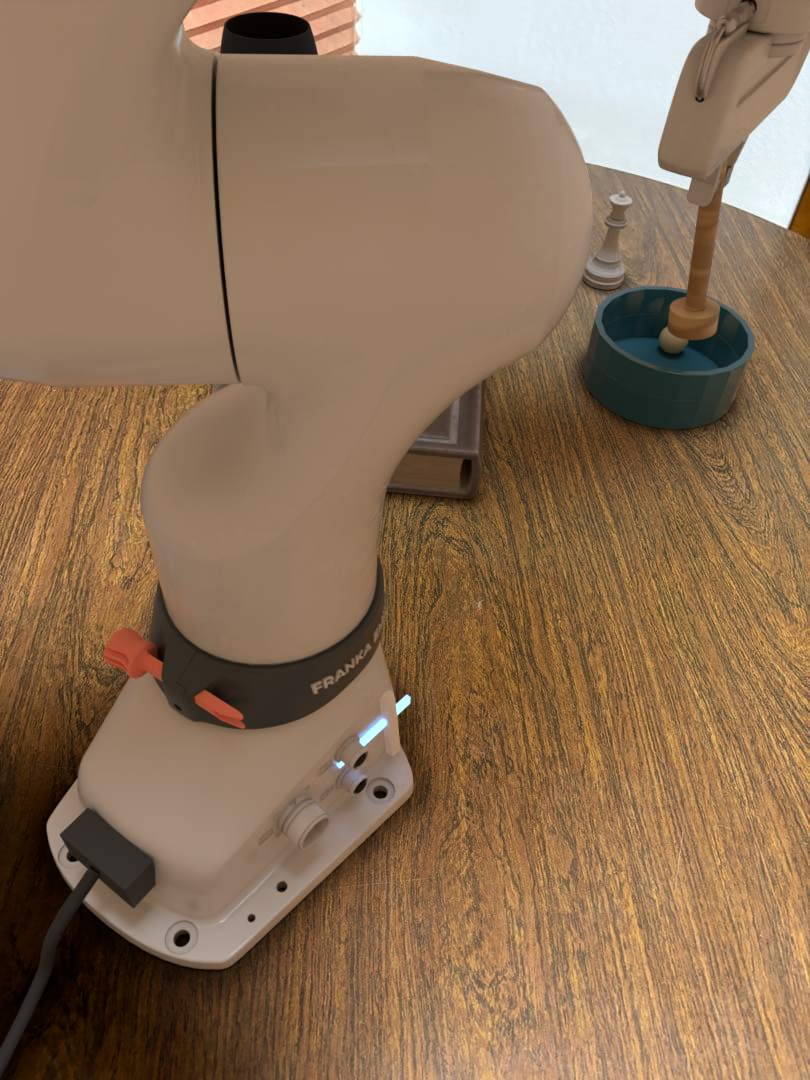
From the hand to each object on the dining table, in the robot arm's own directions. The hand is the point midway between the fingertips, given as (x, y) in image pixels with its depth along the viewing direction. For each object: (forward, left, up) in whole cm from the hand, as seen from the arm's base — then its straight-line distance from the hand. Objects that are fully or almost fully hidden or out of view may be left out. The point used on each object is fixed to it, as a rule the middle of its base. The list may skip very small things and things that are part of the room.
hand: (706, 194), depth 65 cm
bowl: (+4, 0, -20) cm, 20 cm away
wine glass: (+8, +49, -20) cm, 53 cm away
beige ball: (+8, +1, -18) cm, 20 cm away
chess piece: (+18, +12, -20) cm, 29 cm away
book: (-12, +23, -20) cm, 33 cm away
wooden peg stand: (0, -2, -11) cm, 11 cm away
